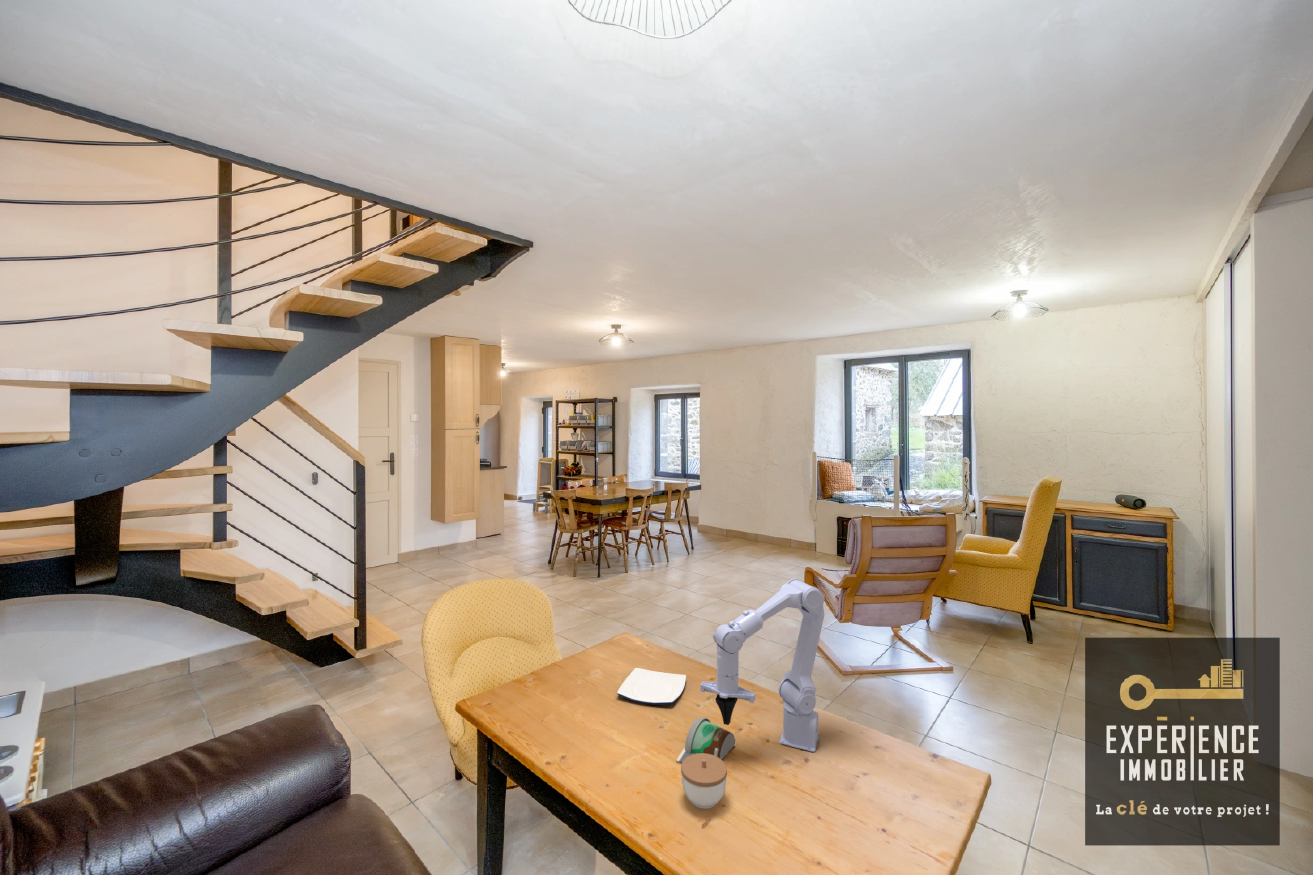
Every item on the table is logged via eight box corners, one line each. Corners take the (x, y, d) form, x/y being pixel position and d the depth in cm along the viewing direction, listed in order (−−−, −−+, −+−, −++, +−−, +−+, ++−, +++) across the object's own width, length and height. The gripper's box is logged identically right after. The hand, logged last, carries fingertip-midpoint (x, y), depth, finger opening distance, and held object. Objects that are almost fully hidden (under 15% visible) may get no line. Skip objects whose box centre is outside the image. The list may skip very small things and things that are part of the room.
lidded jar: (697, 777, 129) (698, 740, 129) (735, 797, 122) (735, 758, 122) (671, 801, 121) (671, 761, 121) (710, 824, 114) (710, 781, 114)
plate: (612, 702, 165) (612, 693, 165) (634, 673, 185) (634, 665, 185) (674, 712, 159) (674, 704, 159) (689, 681, 179) (689, 674, 179)
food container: (717, 741, 133) (684, 728, 139) (716, 765, 133) (683, 750, 139) (737, 719, 144) (706, 708, 149) (737, 741, 144) (705, 729, 149)
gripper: (696, 672, 137) (696, 723, 137) (750, 684, 131) (750, 737, 131) (705, 662, 143) (704, 710, 144) (757, 672, 137) (756, 723, 138)
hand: (727, 722), depth 138 cm, fingers closed
